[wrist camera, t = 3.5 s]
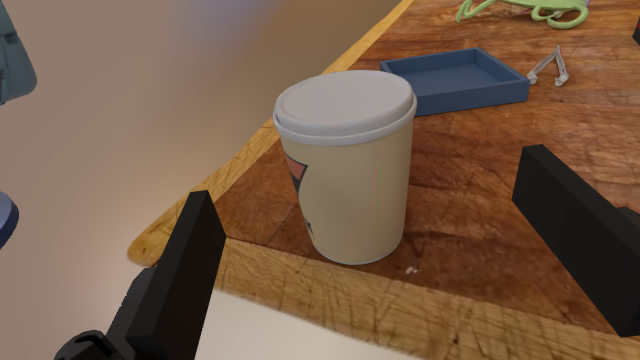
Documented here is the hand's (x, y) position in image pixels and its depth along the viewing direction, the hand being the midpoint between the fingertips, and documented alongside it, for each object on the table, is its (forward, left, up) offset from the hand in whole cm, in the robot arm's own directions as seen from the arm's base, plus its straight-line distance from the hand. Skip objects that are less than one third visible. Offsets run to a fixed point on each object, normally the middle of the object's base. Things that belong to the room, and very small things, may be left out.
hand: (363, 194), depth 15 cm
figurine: (+43, +70, -11) cm, 83 cm away
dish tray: (+16, +37, -11) cm, 42 cm away
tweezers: (+33, +40, -11) cm, 53 cm away
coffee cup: (0, +10, -11) cm, 15 cm away
